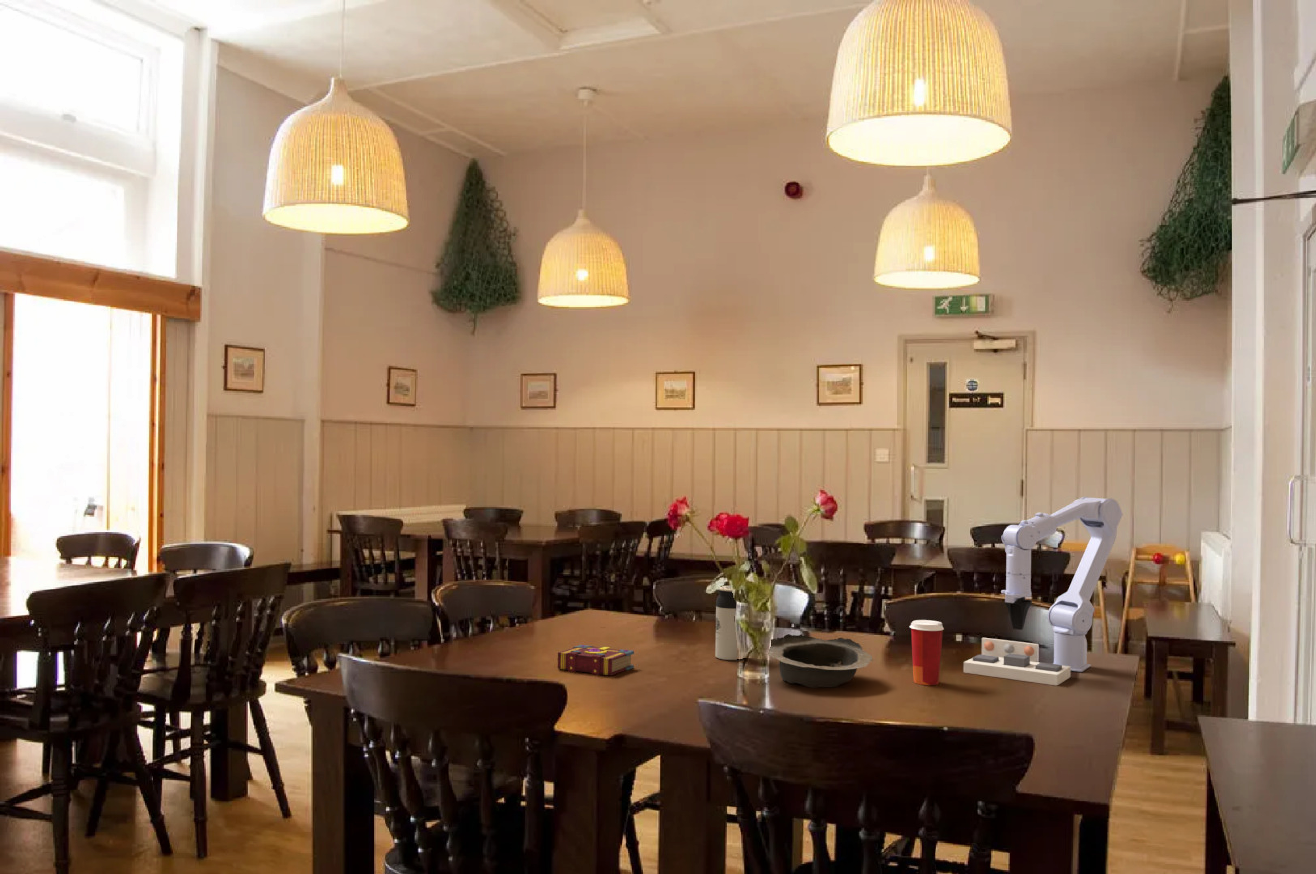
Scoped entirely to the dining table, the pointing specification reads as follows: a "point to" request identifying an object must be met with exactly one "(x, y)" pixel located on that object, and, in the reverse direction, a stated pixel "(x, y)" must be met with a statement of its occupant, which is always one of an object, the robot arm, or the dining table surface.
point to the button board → (1017, 672)
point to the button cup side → (1049, 667)
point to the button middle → (1017, 660)
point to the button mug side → (986, 658)
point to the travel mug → (725, 625)
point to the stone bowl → (817, 660)
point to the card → (1009, 648)
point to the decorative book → (595, 660)
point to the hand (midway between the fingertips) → (1017, 629)
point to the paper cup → (926, 651)
